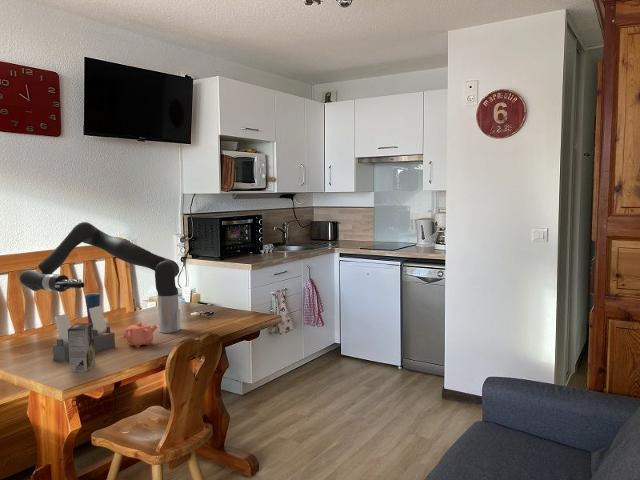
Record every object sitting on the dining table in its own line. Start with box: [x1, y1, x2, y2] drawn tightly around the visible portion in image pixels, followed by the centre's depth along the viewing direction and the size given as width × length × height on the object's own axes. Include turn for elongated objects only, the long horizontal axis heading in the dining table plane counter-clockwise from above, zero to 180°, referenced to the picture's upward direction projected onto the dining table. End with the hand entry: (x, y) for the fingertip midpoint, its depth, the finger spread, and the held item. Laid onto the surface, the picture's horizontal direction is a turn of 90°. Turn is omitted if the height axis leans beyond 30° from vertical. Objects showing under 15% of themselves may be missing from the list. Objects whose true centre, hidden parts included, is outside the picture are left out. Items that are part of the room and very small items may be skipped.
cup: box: [84, 292, 101, 323], centre depth 270 cm, size 7×7×15 cm
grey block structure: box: [52, 325, 116, 363], centre depth 220 cm, size 7×24×8 cm, turn 152°
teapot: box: [123, 321, 158, 349], centre depth 231 cm, size 12×12×10 cm
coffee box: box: [68, 322, 96, 373], centre depth 200 cm, size 9×6×16 cm
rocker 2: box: [89, 305, 107, 334], centre depth 227 cm, size 2×5×11 cm, turn 152°
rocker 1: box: [54, 313, 72, 344], centre depth 213 cm, size 2×5×11 cm, turn 151°
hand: (82, 285), depth 230 cm, fingers closed
